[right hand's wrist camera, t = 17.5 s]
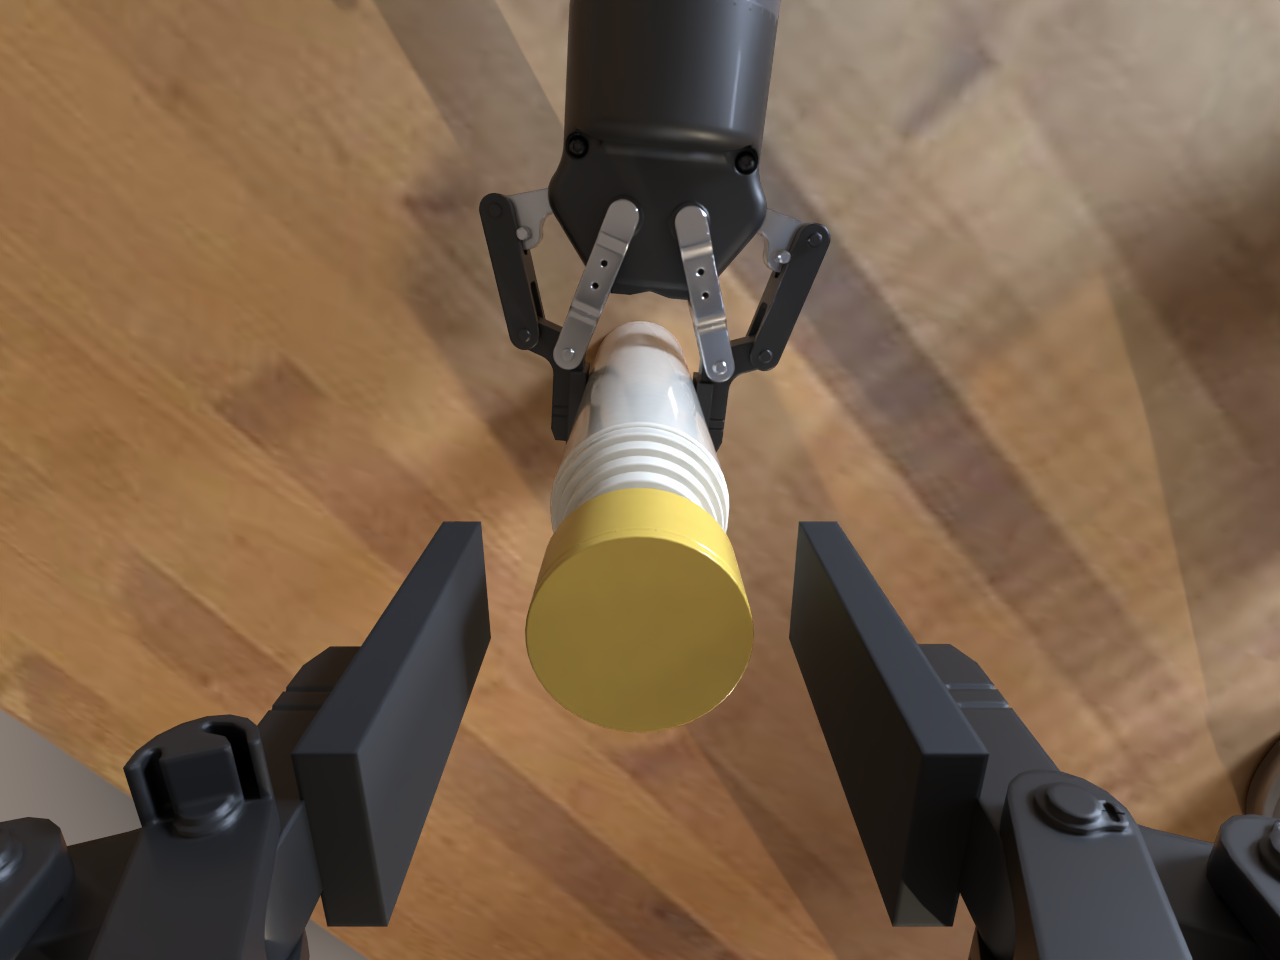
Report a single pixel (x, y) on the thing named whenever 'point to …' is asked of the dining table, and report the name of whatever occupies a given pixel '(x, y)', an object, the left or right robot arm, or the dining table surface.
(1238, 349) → the dining table surface
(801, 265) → the left robot arm
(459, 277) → the dining table surface
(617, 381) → the bottle
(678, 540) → the cap
